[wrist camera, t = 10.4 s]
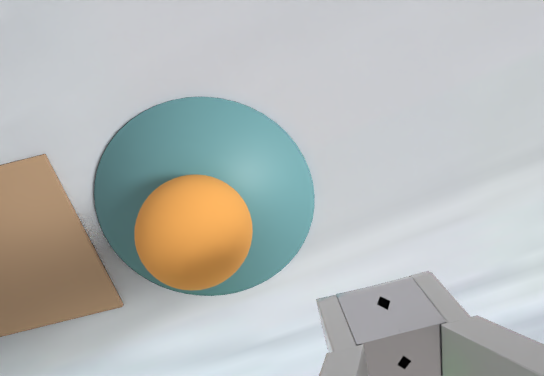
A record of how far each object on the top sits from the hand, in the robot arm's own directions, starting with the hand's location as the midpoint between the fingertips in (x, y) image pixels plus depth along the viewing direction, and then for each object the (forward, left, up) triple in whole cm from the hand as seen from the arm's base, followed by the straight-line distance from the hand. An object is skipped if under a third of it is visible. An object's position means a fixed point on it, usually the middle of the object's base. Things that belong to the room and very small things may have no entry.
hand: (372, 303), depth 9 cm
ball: (0, -6, -8) cm, 10 cm away
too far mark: (+1, -18, -10) cm, 21 cm away
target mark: (+1, -6, -10) cm, 12 cm away
